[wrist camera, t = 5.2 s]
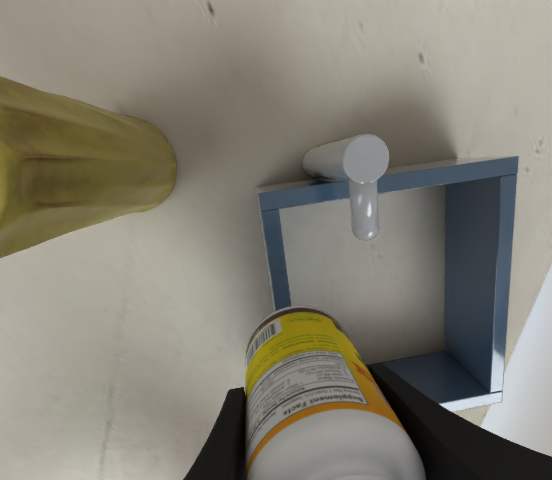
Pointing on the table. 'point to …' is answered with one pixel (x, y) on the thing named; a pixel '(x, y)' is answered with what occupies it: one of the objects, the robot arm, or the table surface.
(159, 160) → the vase
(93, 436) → the table surface
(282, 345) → the supplement bottle
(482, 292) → the open box
